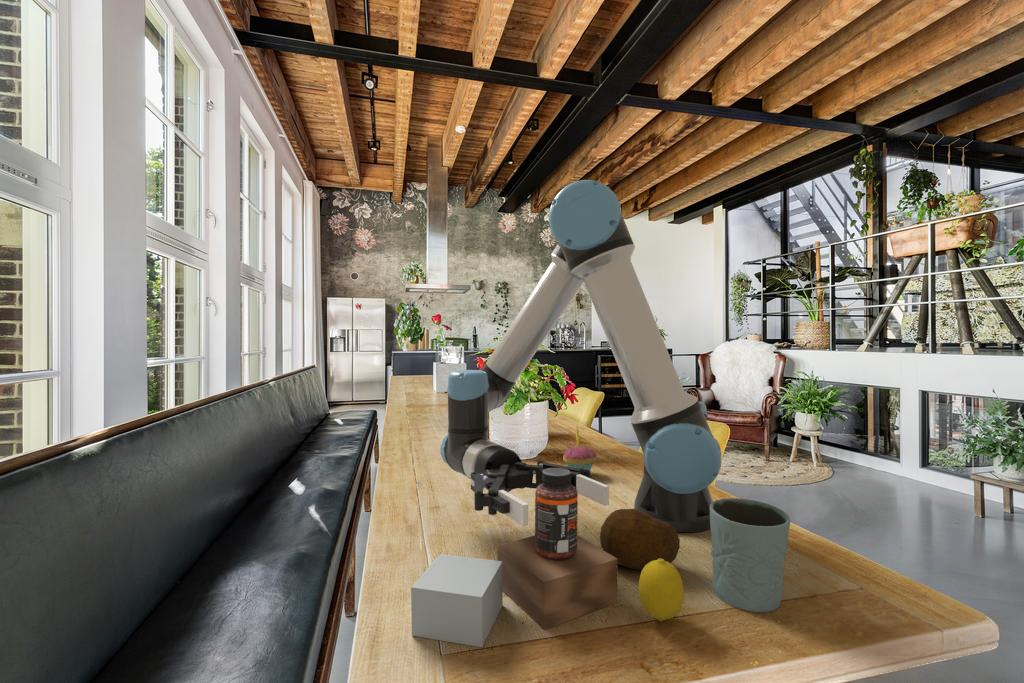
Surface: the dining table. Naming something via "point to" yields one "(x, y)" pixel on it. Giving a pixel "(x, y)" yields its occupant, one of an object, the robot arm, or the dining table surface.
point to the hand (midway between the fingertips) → (568, 505)
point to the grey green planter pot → (748, 553)
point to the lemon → (661, 589)
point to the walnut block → (558, 581)
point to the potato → (638, 538)
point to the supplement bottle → (556, 515)
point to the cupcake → (580, 456)
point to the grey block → (457, 599)
